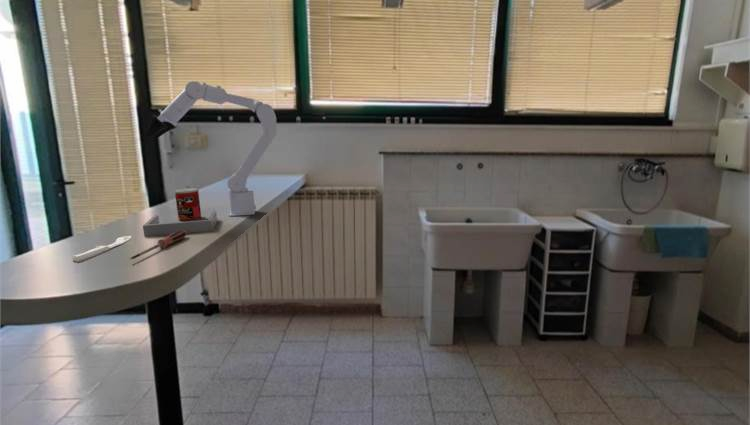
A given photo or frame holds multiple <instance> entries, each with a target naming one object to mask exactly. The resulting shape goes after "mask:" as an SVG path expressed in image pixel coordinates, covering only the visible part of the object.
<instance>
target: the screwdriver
mask: <svg viewBox="0 0 750 425" xmlns="http://www.w3.org/2000/svg"><path fill="white" fill-rule="evenodd" d="M186 236H187V233H186V231H184V230H181V231H177V232H174V233H172V234H168V235H166V237H165V238H162V239H161V238H160V239H159V240H158V242H157V244H155V245H153V246H151V247H149V248H148V249H145V250H143V251H141V252H138V253H137V254H135V255H134V256H131V257H130V258H129V260H134V259H136V258H138V257H141V256H143V255H145V254H147V253H149V252H151V251H153V250H155V249H157V248H158V249H159V248H161V249H165V248H166V247H167V246H168V245H172V244H174V243H177V242H179V241H181V240H182V239H184V238H185V237H186Z"/></svg>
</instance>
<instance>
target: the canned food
mask: <svg viewBox="0 0 750 425" xmlns="http://www.w3.org/2000/svg"><path fill="white" fill-rule="evenodd" d="M174 196H175V203H176V211H177V217H178V220H179V222H188V221H197V220H199V219H200V218H201V217H202V211H201V204H200V195H199V189H198V188H195V187H194V188H193V187H189V188H188V187H187V188H180V189H179V188H177V189H176V190H175V191H174Z"/></svg>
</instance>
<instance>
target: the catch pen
mask: <svg viewBox="0 0 750 425" xmlns="http://www.w3.org/2000/svg"><path fill="white" fill-rule="evenodd" d="M159 217H160V216H159V214H156V215H155V214H154V215H153V216H152V217H151V218H150V219H149V220H147V222H145V223H144V224H143V225H142V230H143V235H144V236H143V237H154V236H155V237H156V236H168V235H171V234H172V233H174V232H177V231H181V230H184V231H186V234H189V233H201V232H213V231H214V228H215V227H216V224H217V222H218V217H217V210H213V211H212V212H211V213H210V215H209V217H208V219H205V220H204V219H203V220H191V221H178V222H176V221H175V222H166V223H165V222H163V223H160V218H159Z"/></svg>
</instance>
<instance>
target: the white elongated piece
mask: <svg viewBox="0 0 750 425" xmlns="http://www.w3.org/2000/svg"><path fill="white" fill-rule="evenodd" d="M131 238H132V235H127V236H126V235H125V236H120V237H118V238H117V239H116V240H115V241H114V242H113V243H110V244H108V245H96V246H95V248H92V249H89V250H87V251H85V252H82V253H80V254H73V255H72V257H71V259H72V261H74V262H78V263H79V262H82V261H85V260H87V259H91V258H93V257H95V256H98V255H100V254H102V253H104V252H108V251H110V249H112V248H114V247H118V246H120V245H121V246H122V245H124V243H126V242H127V241H129V240H130V239H131Z"/></svg>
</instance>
